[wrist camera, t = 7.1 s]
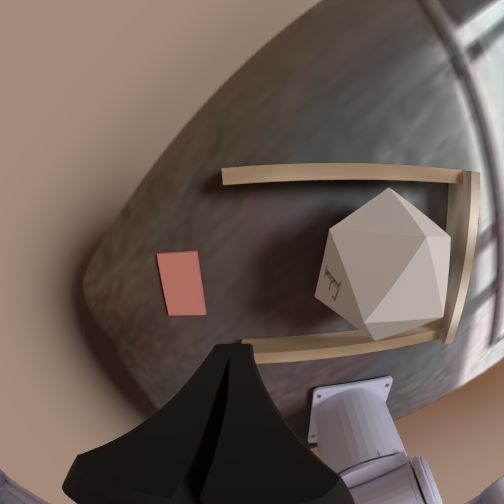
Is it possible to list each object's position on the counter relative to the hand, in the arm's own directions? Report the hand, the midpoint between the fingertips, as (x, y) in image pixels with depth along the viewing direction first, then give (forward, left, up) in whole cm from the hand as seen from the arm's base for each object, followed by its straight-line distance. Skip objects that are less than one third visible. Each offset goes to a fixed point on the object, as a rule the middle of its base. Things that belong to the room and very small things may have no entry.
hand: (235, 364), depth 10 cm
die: (+1, -9, -11) cm, 14 cm away
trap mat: (-1, +5, -10) cm, 12 cm away
